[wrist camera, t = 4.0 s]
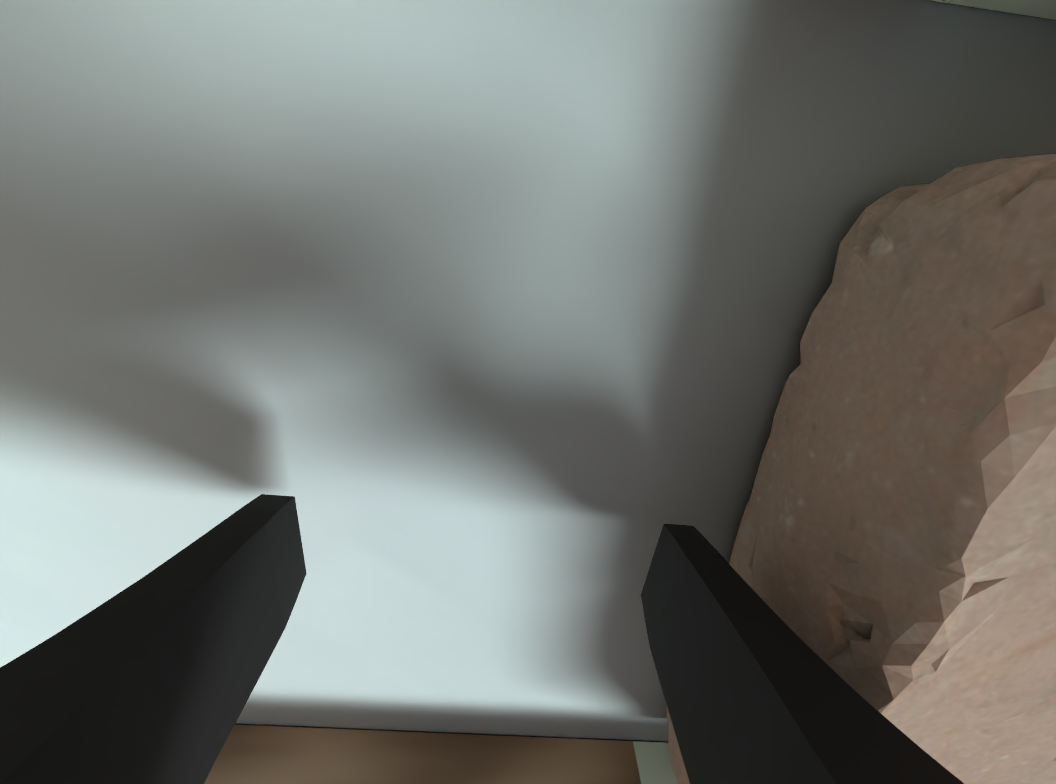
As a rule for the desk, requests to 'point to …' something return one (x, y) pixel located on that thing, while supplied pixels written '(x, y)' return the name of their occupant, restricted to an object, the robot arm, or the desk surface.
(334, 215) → the desk surface
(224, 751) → the lane
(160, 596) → the robot arm
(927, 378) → the brick
